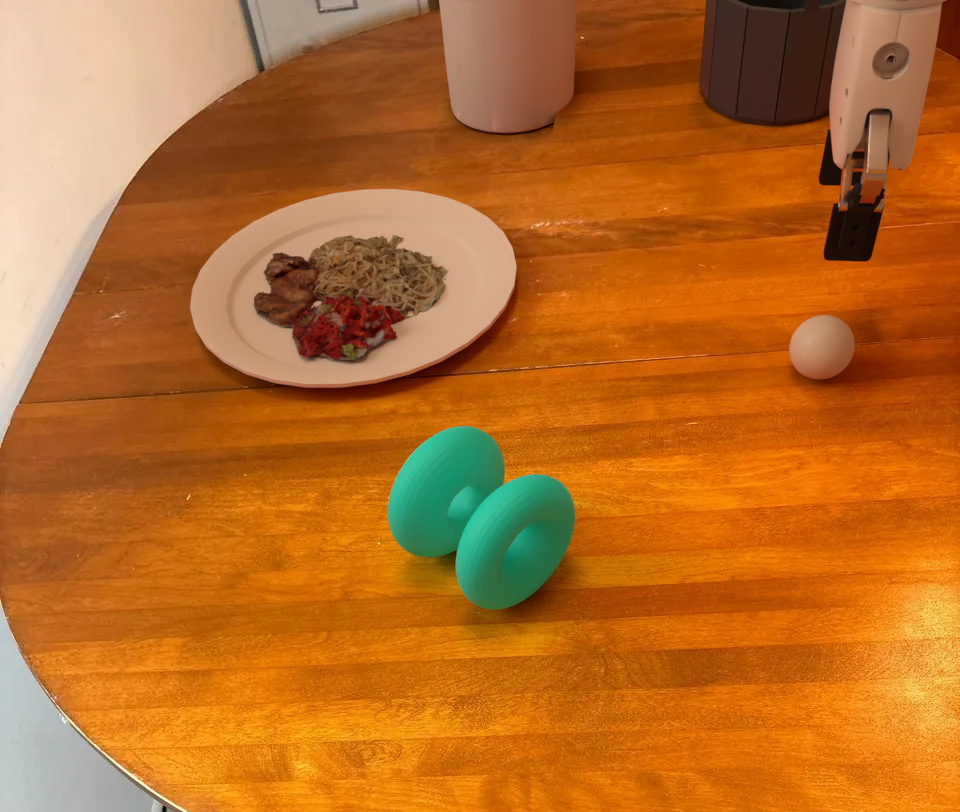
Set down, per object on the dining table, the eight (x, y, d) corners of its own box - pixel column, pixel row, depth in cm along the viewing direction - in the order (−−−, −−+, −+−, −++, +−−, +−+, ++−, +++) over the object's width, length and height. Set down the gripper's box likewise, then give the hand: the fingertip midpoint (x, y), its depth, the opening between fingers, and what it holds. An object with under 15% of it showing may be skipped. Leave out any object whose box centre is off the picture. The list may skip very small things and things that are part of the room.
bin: (867, 116, 108) (899, -34, 97) (720, 135, 108) (735, -13, 97) (822, 48, 117) (846, -95, 107) (686, 66, 117) (696, -75, 107)
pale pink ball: (846, 354, 88) (858, 302, 84) (849, 393, 85) (862, 342, 81) (784, 352, 89) (793, 301, 85) (785, 391, 86) (795, 340, 82)
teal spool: (488, 496, 81) (478, 393, 73) (584, 562, 76) (584, 460, 68) (390, 568, 77) (368, 468, 70) (483, 643, 73) (471, 545, 65)
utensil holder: (510, 59, 124) (500, -115, 110) (607, 95, 117) (610, -87, 104) (420, 111, 119) (398, -66, 105) (517, 151, 112) (507, -33, 98)
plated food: (446, 176, 110) (443, 145, 107) (572, 335, 92) (572, 302, 90) (165, 259, 104) (154, 228, 102) (242, 444, 87) (231, 413, 84)
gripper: (985, 20, 58) (906, 292, 71) (951, -100, 68) (888, 158, 81) (842, 21, 59) (791, 289, 72) (830, -97, 69) (787, 157, 83)
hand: (842, 219), depth 77 cm, fingers open, 9 cm apart
